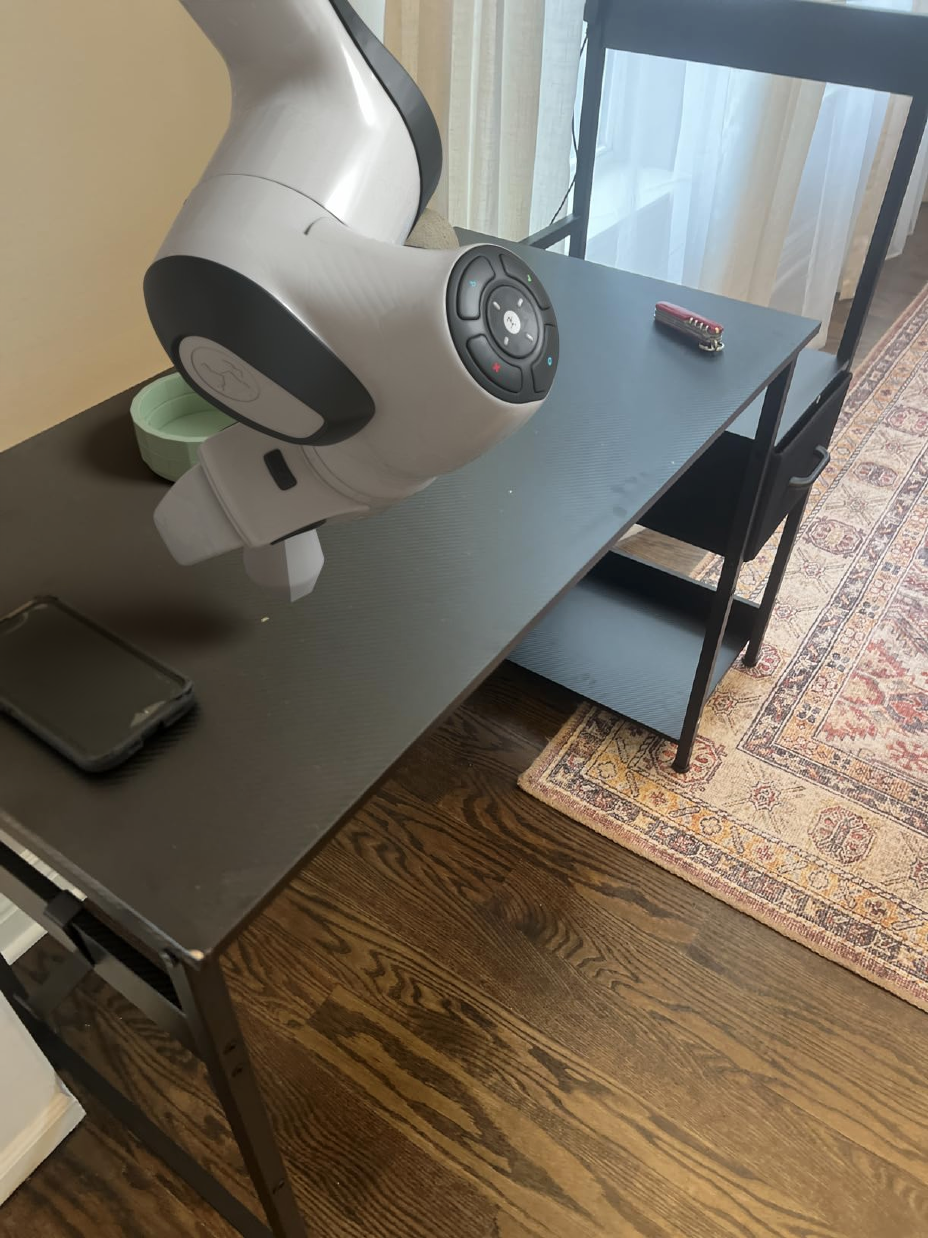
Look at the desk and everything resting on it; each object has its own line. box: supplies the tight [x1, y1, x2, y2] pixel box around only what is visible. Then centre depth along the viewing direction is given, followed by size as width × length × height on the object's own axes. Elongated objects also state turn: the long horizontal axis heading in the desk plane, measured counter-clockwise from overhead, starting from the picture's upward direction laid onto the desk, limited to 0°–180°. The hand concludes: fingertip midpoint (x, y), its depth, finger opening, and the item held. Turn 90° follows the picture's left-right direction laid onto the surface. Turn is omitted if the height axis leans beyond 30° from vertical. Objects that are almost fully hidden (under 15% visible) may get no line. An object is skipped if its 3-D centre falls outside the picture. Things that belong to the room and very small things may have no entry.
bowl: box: [129, 371, 237, 483], centre depth 90 cm, size 14×14×5 cm
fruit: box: [404, 207, 460, 250], centre depth 112 cm, size 10×12×15 cm
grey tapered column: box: [242, 528, 325, 603], centre depth 65 cm, size 6×6×13 cm
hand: (272, 501), depth 65 cm, fingers closed on grey tapered column, 3 cm apart
